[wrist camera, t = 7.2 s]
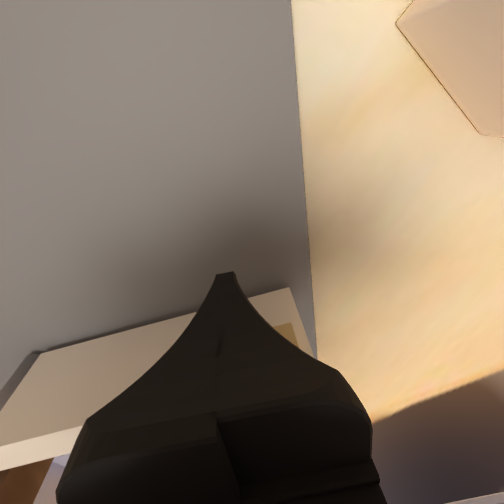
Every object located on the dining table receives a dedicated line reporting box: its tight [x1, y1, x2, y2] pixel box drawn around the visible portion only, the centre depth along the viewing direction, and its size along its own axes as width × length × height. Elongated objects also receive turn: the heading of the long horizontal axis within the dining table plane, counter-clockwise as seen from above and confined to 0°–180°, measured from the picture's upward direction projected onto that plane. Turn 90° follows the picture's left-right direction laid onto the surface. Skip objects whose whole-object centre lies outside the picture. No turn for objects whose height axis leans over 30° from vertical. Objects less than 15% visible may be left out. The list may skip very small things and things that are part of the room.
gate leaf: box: [0, 287, 314, 471], centre depth 12 cm, size 13×2×5 cm, turn 104°
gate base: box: [0, 0, 317, 391], centre depth 13 cm, size 20×22×1 cm
